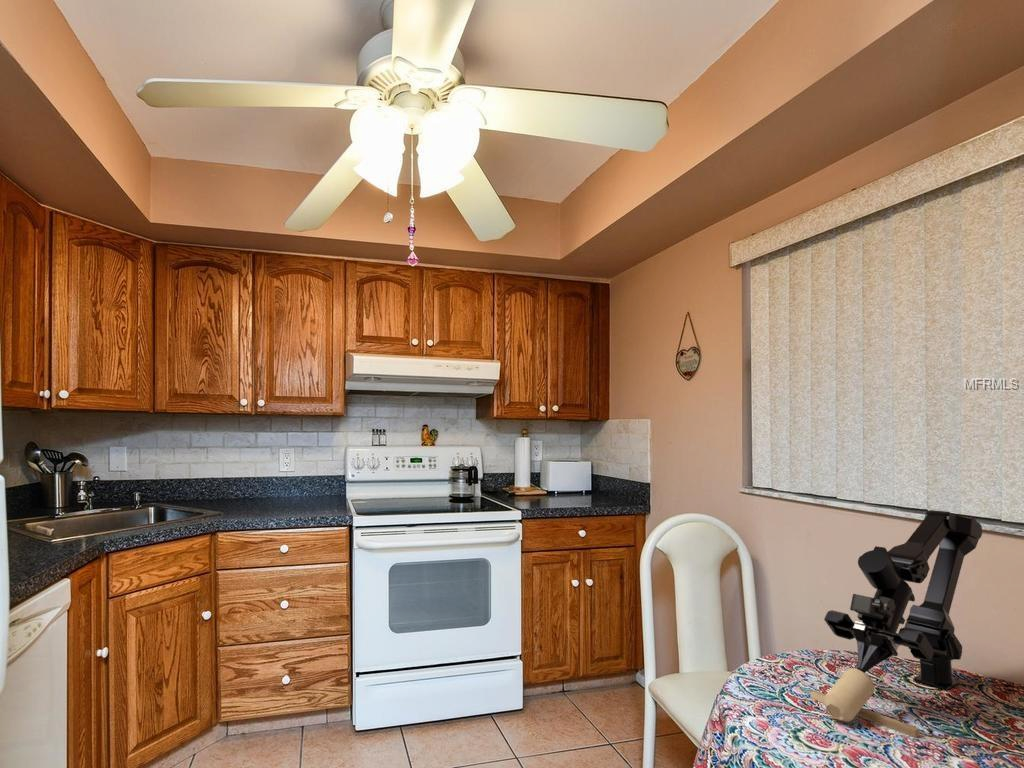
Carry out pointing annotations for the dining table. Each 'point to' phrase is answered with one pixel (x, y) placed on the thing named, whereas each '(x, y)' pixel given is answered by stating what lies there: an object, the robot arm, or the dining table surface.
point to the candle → (848, 695)
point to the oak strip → (877, 718)
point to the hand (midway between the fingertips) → (860, 671)
